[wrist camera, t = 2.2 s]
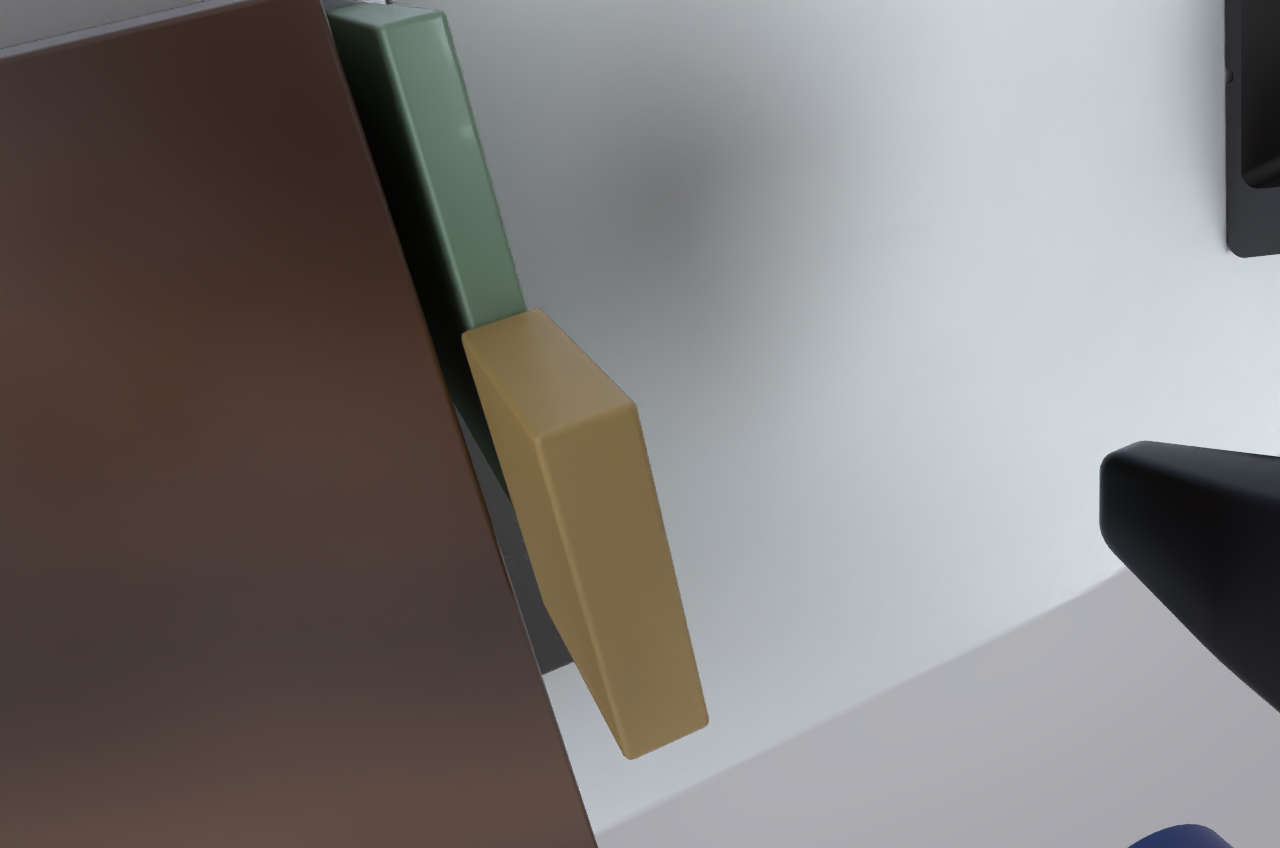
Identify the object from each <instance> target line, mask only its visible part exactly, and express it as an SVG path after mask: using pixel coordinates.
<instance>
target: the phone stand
mask: <svg viewBox="0 0 1280 848" xmlns="http://www.w3.org/2000/svg"><path fill="white" fill-rule="evenodd" d="M1226 46H1227V68H1229V69H1231V70H1232V72H1233V74H1234V79H1233V81H1232V82H1230V83H1228V84H1227V221H1228V245H1229V248H1230V249H1231V251H1232V252H1233V253H1234V254H1235V255H1237V256H1239V257H1242V258H1247V257H1256V256H1265V255H1274V254H1280V0H1226Z"/></svg>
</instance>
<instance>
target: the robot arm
mask: <svg viewBox="0 0 1280 848" xmlns="http://www.w3.org/2000/svg"><path fill="white" fill-rule="evenodd" d="M1099 524H1100V530H1101V534H1102V536H1103V538H1104V540H1105V542H1106V544H1107V545H1108V547H1109V548H1110V549H1111V551H1112V552H1113V553H1114V554H1115V555H1116V556H1117V557H1118V558H1119V559H1120V560H1121V561H1122V562H1123V563H1124V564H1125V565H1126V566H1127V567H1128V568H1129V569H1130V570H1131V571H1132V572H1133V573H1134V574H1135V575H1136V576H1137V577H1138V578H1139V579H1140V580H1141V582H1142V583H1143V584H1144V585H1145V586H1147V588H1148V589H1149V590H1150V591H1151V592H1152V593H1153V594H1154V595H1155V596H1156V597H1157V598H1158V599H1159V600H1160V601H1161V602H1162V603H1163V604H1164V605H1165V606H1166V607H1167V608H1168V609H1169V610H1170V611H1171V612H1172V613H1173V614H1174V615H1175V616H1176V617H1177V618H1178V619H1179V620H1180V621H1181V623H1183V624H1184V625H1185V627H1186V628H1187V629H1189V631H1190V632H1191V633H1192V634H1193V635H1194V636H1195V637H1196V638H1197V639H1198V640H1199V641H1200V642H1201V643H1202V644H1203V645H1204V646H1205V647H1206V648H1207V649H1208V650H1209V651H1210V652H1211V653H1212V654H1213V655H1214V656H1215V657H1216V658H1217V659H1218V660H1219V661H1220V662H1222V663H1223V664H1224V665H1225V666H1226V667H1227V668H1228V669H1229V670H1231V671H1232V672H1233V673H1234V674H1235V675H1236V676H1237V677H1238V678H1240V679H1241V680H1242V681H1243V682H1244V683H1246V685H1248V686H1249V687H1250V688H1252V690H1254V691H1255V692H1256V693H1257V694H1258V695H1259V696H1261V697H1262V698H1263V699H1264V700H1265V701H1267V702H1268V703H1269V704H1270V705H1271V706H1272V707H1274V708H1275V709H1276V710H1277V711H1278V712H1279V713H1280V457H1276V456H1268V455H1260V454H1252V453H1243V452H1235V451H1227V450H1219V449H1210V448H1202V447H1194V446H1186V445H1178V444H1169V443H1161V442H1153V441H1139V442H1136V443H1133V444H1130V445H1128V446H1126V447H1123V448H1121V449H1119V450H1116V451H1114V452H1112V453H1110V454H1108V455H1107V456H1106V457H1105V458H1104V459H1103V461H1102V464H1101V466H1100V498H1099Z"/></svg>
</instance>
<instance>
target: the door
mask: <svg viewBox="0 0 1280 848" xmlns="http://www.w3.org/2000/svg"><path fill="white" fill-rule="evenodd" d="M326 16H327V19H328V22H329V25H330V28H331V31H332V34H333V37H334V40H335V43H336V46H337V49H338V53H339V56H340V59H341V62H342V65H343V68H344V71H345V74H346V77H347V80H348V83H349V86H350V89H351V92H352V95H353V99H354V102H355V105H356V108H357V111H358V114H359V117H360V120H361V123H362V126H363V129H364V132H365V135H366V138H367V141H368V144H369V148H370V151H371V154H372V157H373V160H374V163H375V166H376V169H377V172H378V175H379V178H380V181H381V184H382V187H383V190H384V193H385V197H386V200H387V203H388V206H389V209H390V212H391V215H392V218H393V221H394V224H395V227H396V230H397V233H398V236H399V239H400V243H401V246H402V249H403V252H404V255H405V258H406V261H407V264H408V267H409V270H410V273H411V276H412V279H413V282H414V285H415V288H416V292H417V295H418V298H419V301H420V304H421V307H422V310H423V313H424V316H425V319H426V322H427V325H428V328H429V331H430V334H431V338H432V341H433V344H434V347H435V350H436V353H437V356H438V359H439V362H440V365H441V368H442V371H443V374H444V377H445V380H446V383H447V387H448V390H449V393H450V396H451V399H452V401H453V402H454V404H455V406H456V408H457V409H458V411H459V413H460V415H461V416H462V418H463V420H464V422H465V423H466V425H467V427H468V429H469V430H470V432H471V434H472V436H473V438H474V439H475V441H476V443H477V445H478V446H479V448H480V450H481V452H482V453H483V455H484V457H485V459H486V460H487V462H488V464H489V466H490V468H491V469H492V471H493V473H494V475H495V476H496V478H497V480H498V482H499V483H500V485H501V487H502V489H503V490H504V492H505V494H506V496H507V497H508V499H509V501H510V503H511V505H512V506H513V508H514V510H515V513H516V516H517V520H518V523H519V526H520V529H521V532H522V536H523V539H524V542H525V545H526V549H527V552H528V555H529V558H530V561H531V565H532V568H533V571H534V574H535V577H536V581H537V584H538V587H539V590H540V593H541V597H542V600H543V603H544V605H545V607H546V609H547V611H548V613H549V615H550V617H551V619H552V621H553V622H554V624H555V626H556V628H557V630H558V632H559V634H560V636H561V638H562V639H563V641H564V643H565V645H566V647H567V649H568V651H569V653H570V655H571V657H572V658H573V660H574V662H575V664H576V666H577V668H578V670H579V672H580V674H581V675H582V677H583V679H584V681H585V683H586V685H587V687H588V689H589V691H590V693H591V694H592V696H593V698H594V700H595V702H596V704H597V706H598V708H599V710H600V711H601V713H602V715H603V717H604V719H605V721H606V723H607V725H608V727H609V728H610V730H611V732H612V734H613V736H614V738H615V740H616V742H617V744H618V746H619V747H620V749H621V751H622V753H623V755H624V756H625V757H626V758H627V759H629V760H632V759H636V758H638V757H640V756H642V755H644V754H647V753H649V752H651V751H653V750H655V749H658V748H660V747H662V746H664V745H666V744H669V743H671V742H673V741H675V740H677V739H680V738H682V737H684V736H686V735H688V734H691V733H693V732H695V731H697V730H699V729H702V728H704V727H705V726H707V725H708V722H709V717H708V712H707V708H706V704H705V699H704V695H703V691H702V687H701V682H700V678H699V674H698V669H697V665H696V661H695V656H694V652H693V648H692V643H691V639H690V635H689V630H688V626H687V622H686V617H685V613H684V609H683V604H682V600H681V596H680V591H679V587H678V583H677V578H676V574H675V570H674V565H673V561H672V557H671V552H670V548H669V544H668V540H667V535H666V531H665V527H664V522H663V518H662V514H661V509H660V505H659V501H658V496H657V492H656V488H655V483H654V479H653V475H652V470H651V466H650V462H649V457H648V453H647V449H646V444H645V440H644V436H643V431H642V427H641V423H640V418H639V414H638V410H637V406H636V404H635V403H634V402H633V401H632V400H631V399H630V398H629V397H628V396H627V395H626V394H625V393H624V392H623V391H622V390H621V389H620V388H619V387H618V386H617V385H616V384H615V383H614V382H613V381H612V380H611V379H610V378H609V377H608V376H607V375H606V374H605V373H604V372H603V371H602V370H601V369H600V368H599V367H598V366H597V365H596V364H595V363H594V362H593V361H592V360H591V359H590V358H589V357H588V356H587V355H586V354H585V353H584V352H583V351H582V350H581V349H580V348H579V347H578V346H577V345H576V344H575V343H574V342H573V341H572V340H571V339H570V338H569V337H568V336H567V335H566V334H565V333H564V332H563V331H562V330H561V329H560V328H559V327H558V326H557V325H556V324H555V323H554V322H553V321H552V320H551V319H550V318H549V317H548V316H547V315H546V314H545V313H544V312H543V311H542V310H541V309H537V308H535V309H532V310H529V311H527V307H526V304H525V300H524V297H523V293H522V289H521V286H520V282H519V278H518V275H517V271H516V267H515V264H514V260H513V256H512V253H511V249H510V246H509V242H508V238H507V235H506V231H505V227H504V224H503V220H502V216H501V213H500V209H499V205H498V202H497V198H496V195H495V191H494V187H493V184H492V180H491V176H490V173H489V169H488V165H487V162H486V158H485V154H484V151H483V147H482V144H481V140H480V136H479V133H478V129H477V125H476V122H475V118H474V114H473V111H472V107H471V103H470V100H469V96H468V93H467V89H466V85H465V82H464V78H463V74H462V71H461V67H460V63H459V60H458V56H457V52H456V49H455V45H454V42H453V38H452V34H451V31H450V27H449V23H448V20H447V16H446V14H445V13H444V12H443V11H440V10H432V9H423V8H414V7H405V6H396V5H388V4H379V3H370V2H362V3H358V4H354V5H350V6H346V7H342V8H337V9H333V10H329V11H327V12H326Z"/></svg>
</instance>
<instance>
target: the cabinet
mask: <svg viewBox="0 0 1280 848" xmlns="http://www.w3.org/2000/svg"><path fill="white" fill-rule="evenodd" d="M362 2H370V3H379V4H388V5H391V1H390V0H206V1H202V2H198V3H194V4H189V5H185V6H181V7H177V8H172V9H168V10H164V11H159V12H155V13H151V14H147V15H142V16H138V17H134V18H130V19H125V20H121V21H117V22H113V23H108V24H104V25H100V26H96V27H91V28H87V29H83V30H78V31H74V32H70V33H66V34H61V35H57V36H53V37H49V38H44V39H40V40H36V41H32V42H27V43H23V44H19V45H15V46H10V47H6V48H2V49H0V848H598V846H597V843H596V840H595V837H594V834H593V831H592V828H591V825H590V822H589V819H588V815H587V812H586V809H585V806H584V803H583V800H582V797H581V794H580V791H579V788H578V785H577V782H576V779H575V776H574V773H573V770H572V766H571V763H570V760H569V757H568V754H567V751H566V748H565V745H564V742H563V739H562V736H561V733H560V730H559V727H558V724H557V721H556V717H555V714H554V711H553V708H552V705H551V702H550V699H549V696H548V693H547V690H546V687H545V684H544V681H543V678H542V675H544V674H546V673H548V672H551V671H553V670H556V669H558V668H560V667H563V666H565V665H567V664H570V663H572V662H574V660H573V658H572V657H571V655H570V653H569V651H568V649H567V647H566V645H565V643H564V641H563V639H562V638H561V636H560V634H559V632H558V630H557V628H556V626H555V624H554V622H553V621H552V619H551V617H550V615H549V613H548V611H547V609H546V607H545V605H544V603H543V600H542V597H541V593H540V590H539V587H538V584H537V581H536V577H535V574H534V571H533V568H532V565H531V561H530V558H529V555H528V552H527V549H526V545H525V542H524V539H523V536H522V532H521V529H520V526H519V523H518V520H517V516H516V513H515V510H514V508H513V506H512V505H511V503H510V501H509V499H508V497H507V496H506V494H505V492H504V490H503V489H502V487H501V485H500V483H499V482H498V480H497V478H496V476H495V475H494V473H493V471H492V469H491V468H490V466H489V464H488V462H487V460H486V459H485V457H484V455H483V453H482V452H481V450H480V448H479V446H478V445H477V443H476V441H475V439H474V438H473V436H472V434H471V432H470V430H469V429H468V427H467V425H466V423H465V422H464V420H463V418H462V416H461V415H460V413H459V411H458V409H457V408H456V406H455V404H454V402H453V401H452V399H451V396H450V393H449V390H448V387H447V383H446V380H445V377H444V374H443V371H442V368H441V365H440V362H439V359H438V356H437V353H436V350H435V347H434V344H433V341H432V338H431V334H430V331H429V328H428V325H427V322H426V319H425V316H424V313H423V310H422V307H421V304H420V301H419V298H418V295H417V292H416V288H415V285H414V282H413V279H412V276H411V273H410V270H409V267H408V264H407V261H406V258H405V255H404V252H403V249H402V246H401V243H400V239H399V236H398V233H397V230H396V227H395V224H394V221H393V218H392V215H391V212H390V209H389V206H388V203H387V200H386V197H385V193H384V190H383V187H382V184H381V181H380V178H379V175H378V172H377V169H376V166H375V163H374V160H373V157H372V154H371V151H370V148H369V144H368V141H367V138H366V135H365V132H364V129H363V126H362V123H361V120H360V117H359V114H358V111H357V108H356V105H355V102H354V99H353V95H352V92H351V89H350V86H349V83H348V80H347V77H346V74H345V71H344V68H343V65H342V62H341V59H340V56H339V53H338V49H337V46H336V43H335V40H334V37H333V34H332V31H331V28H330V25H329V22H328V19H327V16H326V12H327V11H329V10H333V9H337V8H342V7H346V6H350V5H354V4H358V3H362Z"/></svg>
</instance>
